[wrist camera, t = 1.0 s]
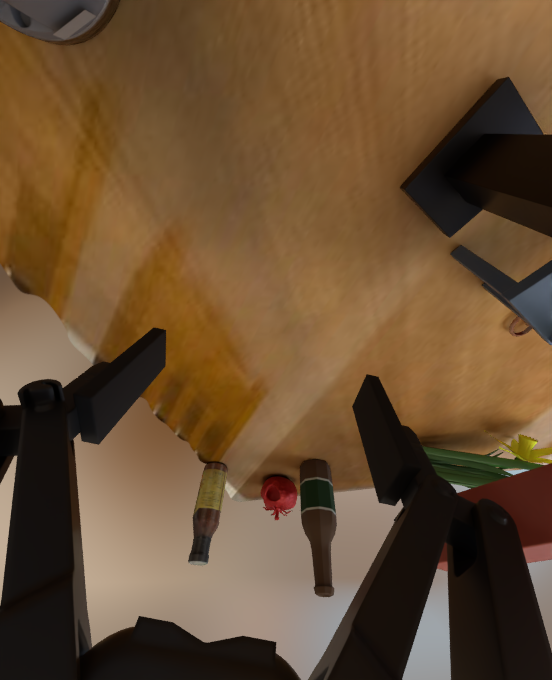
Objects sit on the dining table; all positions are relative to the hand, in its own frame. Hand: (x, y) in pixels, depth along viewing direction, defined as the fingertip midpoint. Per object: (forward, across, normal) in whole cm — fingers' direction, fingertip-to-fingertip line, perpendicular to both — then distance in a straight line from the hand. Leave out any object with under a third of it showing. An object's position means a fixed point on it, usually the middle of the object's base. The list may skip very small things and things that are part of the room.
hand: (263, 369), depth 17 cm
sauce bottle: (+32, -6, -54) cm, 63 cm away
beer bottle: (+32, +18, -47) cm, 60 cm away
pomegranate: (+34, +11, -58) cm, 68 cm away
